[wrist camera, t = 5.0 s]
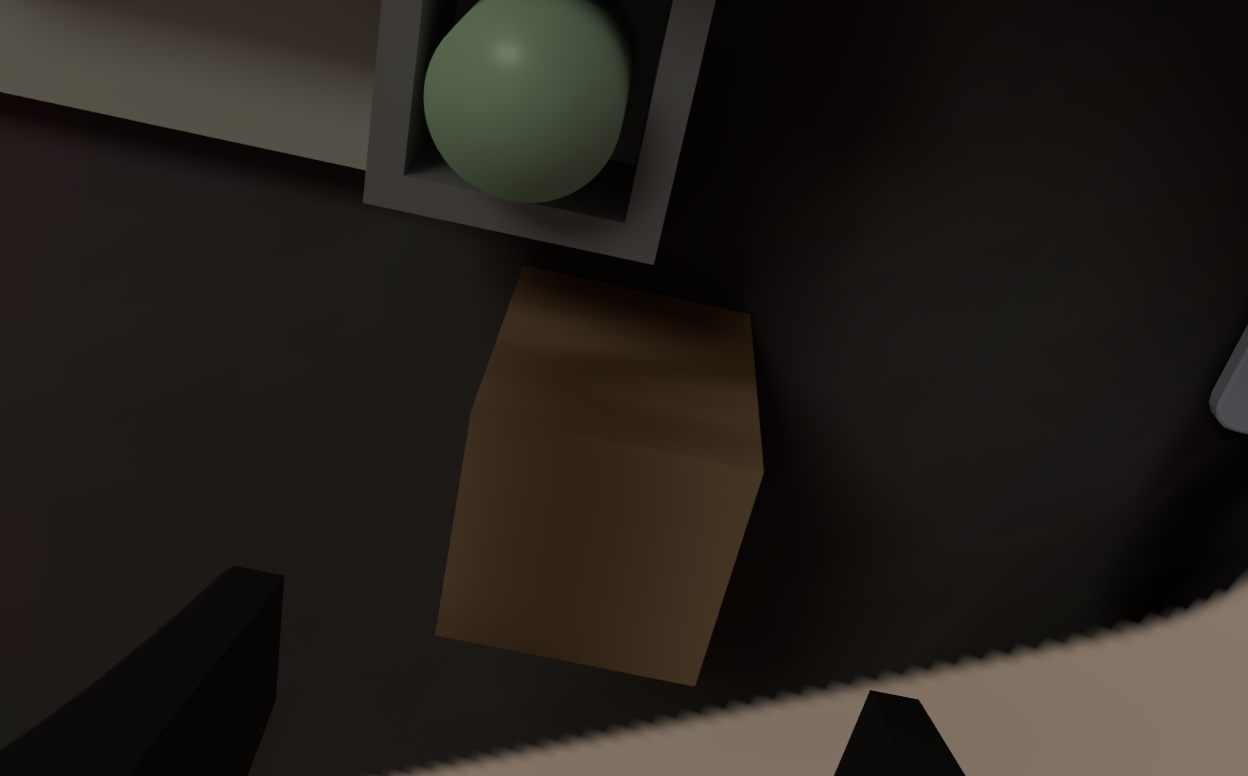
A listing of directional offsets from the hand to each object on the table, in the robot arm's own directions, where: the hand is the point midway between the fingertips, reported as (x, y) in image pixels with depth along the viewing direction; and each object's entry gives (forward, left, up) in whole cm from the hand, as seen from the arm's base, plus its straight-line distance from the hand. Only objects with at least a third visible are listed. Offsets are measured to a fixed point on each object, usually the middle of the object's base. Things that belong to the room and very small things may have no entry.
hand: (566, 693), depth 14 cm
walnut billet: (0, 0, -8) cm, 8 cm away
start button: (+2, -6, -6) cm, 9 cm away
